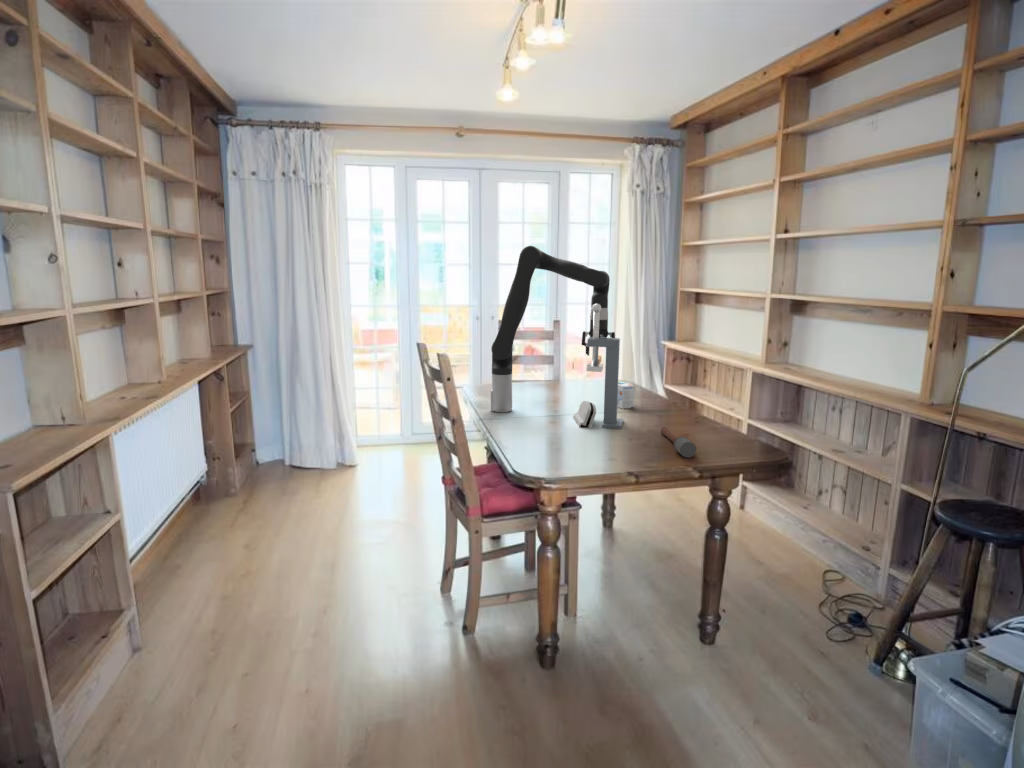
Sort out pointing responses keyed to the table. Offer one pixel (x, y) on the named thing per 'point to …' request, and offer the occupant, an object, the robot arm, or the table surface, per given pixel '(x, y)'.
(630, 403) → the light bulb box
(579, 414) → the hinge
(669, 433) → the mallet
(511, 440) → the table surface
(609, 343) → the press frame
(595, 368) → the ram
